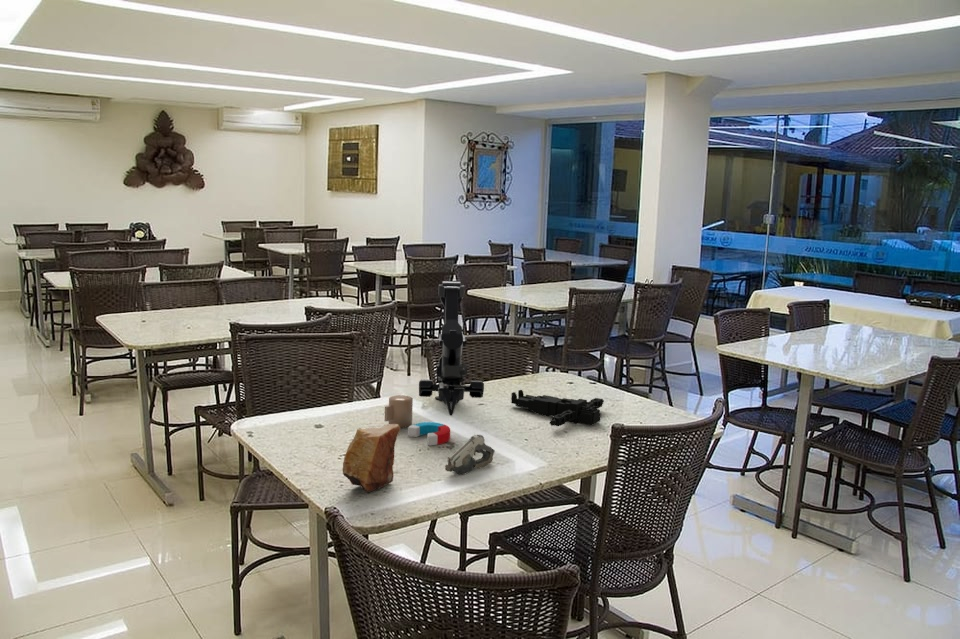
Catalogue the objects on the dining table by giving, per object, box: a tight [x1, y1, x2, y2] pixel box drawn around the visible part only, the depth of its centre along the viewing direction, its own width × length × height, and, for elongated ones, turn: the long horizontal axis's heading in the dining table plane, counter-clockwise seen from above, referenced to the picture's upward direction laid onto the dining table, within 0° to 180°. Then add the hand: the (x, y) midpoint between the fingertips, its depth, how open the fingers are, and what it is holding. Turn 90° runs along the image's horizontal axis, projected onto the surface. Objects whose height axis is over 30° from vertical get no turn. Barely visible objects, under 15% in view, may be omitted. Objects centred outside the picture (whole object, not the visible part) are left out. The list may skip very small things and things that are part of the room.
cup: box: [384, 394, 414, 429], centre depth 216 cm, size 7×9×8 cm
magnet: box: [407, 421, 451, 446], centre depth 208 cm, size 12×3×10 cm
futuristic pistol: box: [444, 434, 495, 475], centre depth 185 cm, size 2×15×10 cm, turn 135°
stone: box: [342, 423, 401, 493], centre depth 171 cm, size 14×9×15 cm, turn 130°
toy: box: [510, 389, 605, 427], centre depth 232 cm, size 31×6×30 cm
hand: (451, 414), depth 207 cm, fingers closed
